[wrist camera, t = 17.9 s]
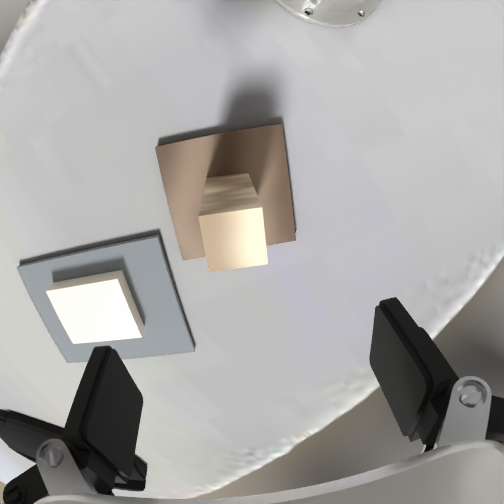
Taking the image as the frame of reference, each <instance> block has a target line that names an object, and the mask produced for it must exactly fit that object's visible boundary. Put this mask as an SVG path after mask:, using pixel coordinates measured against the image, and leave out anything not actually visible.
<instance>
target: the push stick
mask: <svg viewBox="0 0 504 504" xmlns="http://www.w3.org/2000/svg"><path fill="white" fill-rule="evenodd" d="M198 217H199V223H200V228H201V234H202V239H203V244H204V250H205V255H206V260H207V265H208V270H209V272H213V271H221V270H228V269H235V268H243V267H250V266H257V265H264V264H268V260H267V250H266V240H265V230H264V220H263V210H262V206H261V203H260V201H259V198H258V196H257V193H256V191H255V188H254V186H253V183H252V181H251V178H250V176H249V173H241V174H234V175H226V176H219V177H212V178H206V182H205V186H204V191H203V196H202V201H201V206H200V210H199V215H198Z"/></svg>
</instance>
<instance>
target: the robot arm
mask: <svg viewBox="0 0 504 504" xmlns="http://www.w3.org/2000/svg"><path fill="white" fill-rule="evenodd" d="M276 1H277V2H278V3H279V4H280V5H281V6H282V7H284V8H285V9H286V10H288V11H289V12H290V13H292V14H294V15H295V16H297V17H299V18H301V19H303V20H306V21H308V22H311V23H314V24H318V25H322V26H329V27H346V26H350V25H354V24H357V23H359V22H362V21H364V20H365V19H367V18H369V17H370V16H372V15H373V14H374V13H375V11H376V10H377V9H378V8H379V6H380V4H381V2H382V0H276ZM305 12H308V13H309V15H307V14H305ZM358 13H359V14H360V16H359V15H358ZM370 365H371V368H372V370H373V372H374V374H375V376H376V378H377V380H378V382H379V384H380V386H381V388H382V391H383V393H384V395H385V397H386V399H387V401H388V403H389V406H390V408H391V410H392V412H393V414H394V416H395V418H396V421H397V423H398V425H399V427H400V430H401V432H402V434H403V435H404V436H408V437H409V439H410V441H411V442H412V441H414V440H417V439H421V441H422V443H423V444H425V445H424V448H423V451H422V453H421V454H418V455H416V456H413V457H410V458H408V459H405V460H402V461H399V462H396V463H393V464H390V465H387V466H384V467H381V468H378V469H374V470H371V471H368V472H365V473H361V474H358V475H355V476H351V477H347V478H343V479H340V480H336V481H332V482H327V483H323V484H318V485H313V486H308V487H303V488H298V489H293V490H287V491H281V492H274V493H267V494H259V495H250V496H241V497H229V498H211V499H153V498H136V497H122V496H119V495H118V494H117V492H116V491H115V489H114V485H115V483H125V484H127V481H128V477H130V476H131V475H132V469H133V462H134V455H135V448H136V442H137V436H138V429H139V423H140V418H141V412H142V406H143V397H142V394H141V392H140V391H139V389H138V387H137V386H136V384H135V382H134V381H133V379H132V377H131V376H130V374H129V372H128V370H127V369H126V367H125V365H124V363H123V362H122V360H121V358H120V356H119V354H118V353H117V351H116V350H115V349H112V347H111V346H108V345H107V346H96V347H94V349H93V351H92V353H91V356H90V358H89V361H88V363H87V366H86V368H85V371H84V374H83V376H82V379H81V382H80V384H79V387H78V390H77V392H76V395H75V398H74V401H73V404H72V407H71V409H70V412H69V415H68V418H67V421H66V424H65V428H64V431H63V434H62V435H63V436H62V439H61V440H60V439H56V438H55V439H49V440H47V441H45V442H44V443H42V444H41V445H40V447H39V448H38V450H37V453H36V463H37V464H36V465H34V466H33V467H31V468H30V469H28V470H27V471H25V472H24V473H22V474H21V475H19V476H18V477H16V478H14V479H13V480H11V481H10V482H9V483H8V484H7V485H6V487H5V488H4V491H3V500H4V502H3V503H2V502H1V501H0V504H504V398H500V397H496V396H492V395H491V390H490V387H489V386H488V384H487V383H486V382H485V381H483V380H482V379H481V378H478V377H474V376H467V377H463V378H461V379H459V378H458V377H457V375H456V374H455V372H454V371H453V369H452V368H451V367H450V365H449V363H448V362H447V360H446V359H445V358H444V356H443V355H442V353H441V352H440V350H439V349H438V348H437V346H436V345H435V343H434V342H433V341H432V339H431V338H430V336H429V335H428V334H427V332H426V331H425V330H424V329H423V328H421V327H418V325H417V324H416V323H415V321H414V320H413V319H412V317H411V316H410V315H409V313H408V312H407V311H406V309H405V308H404V307H403V305H402V304H401V303H400V301H399V300H398V299H397V298H396V297H394V298H390V299H386V300H382V301H380V303H379V305H378V306H376V308H375V317H374V326H373V335H372V343H371V351H370Z"/></svg>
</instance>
